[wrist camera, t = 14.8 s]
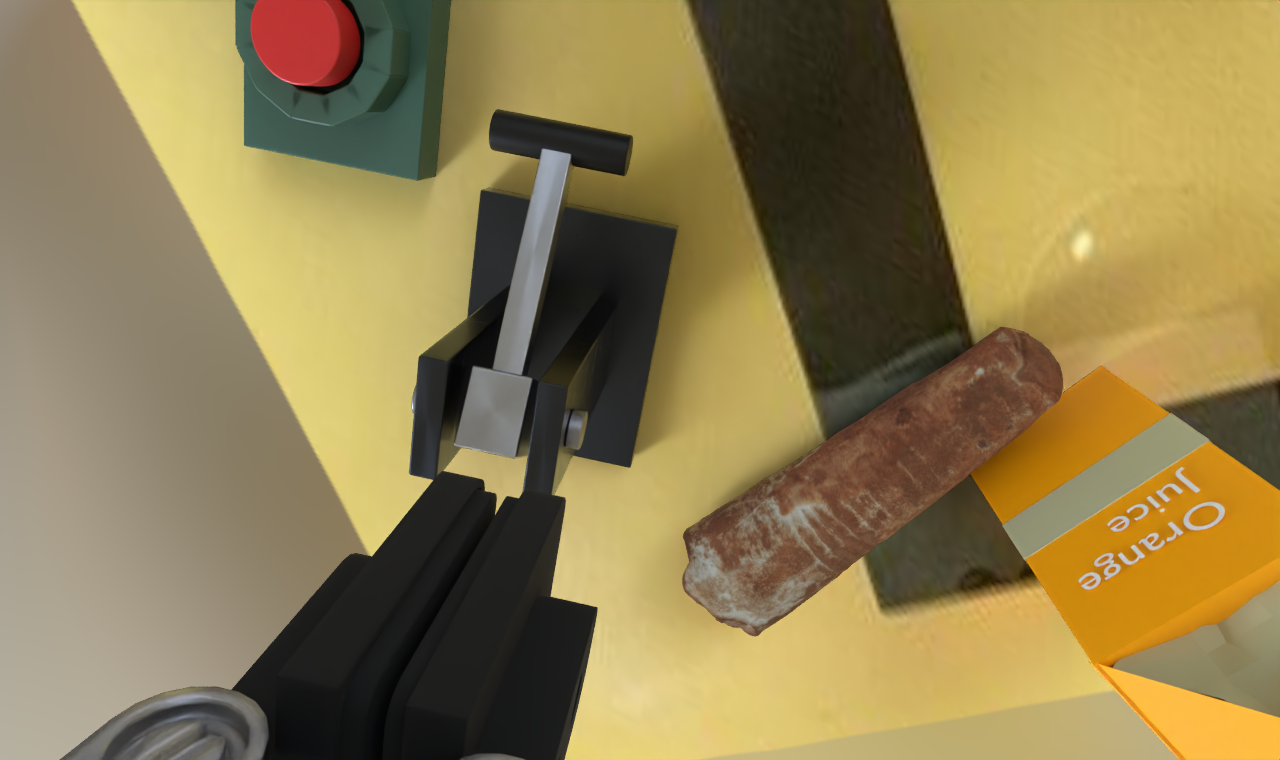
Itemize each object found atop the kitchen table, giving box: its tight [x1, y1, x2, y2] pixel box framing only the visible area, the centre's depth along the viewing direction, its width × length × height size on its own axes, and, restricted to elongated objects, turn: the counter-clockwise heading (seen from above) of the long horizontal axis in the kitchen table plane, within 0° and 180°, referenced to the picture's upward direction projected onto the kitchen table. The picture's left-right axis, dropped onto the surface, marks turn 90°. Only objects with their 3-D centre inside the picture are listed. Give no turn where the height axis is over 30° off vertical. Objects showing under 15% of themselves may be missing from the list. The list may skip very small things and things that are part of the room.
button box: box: [236, 0, 451, 181], centre depth 33 cm, size 10×8×4 cm
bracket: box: [409, 188, 679, 495], centre depth 32 cm, size 12×9×13 cm
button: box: [251, 0, 360, 86], centre depth 30 cm, size 4×4×2 cm
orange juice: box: [971, 366, 1280, 760], centre depth 28 cm, size 8×9×20 cm
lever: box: [454, 109, 633, 458], centre depth 28 cm, size 12×5×2 cm, turn 171°
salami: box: [682, 327, 1063, 636], centre depth 36 cm, size 6×19×6 cm, turn 130°
